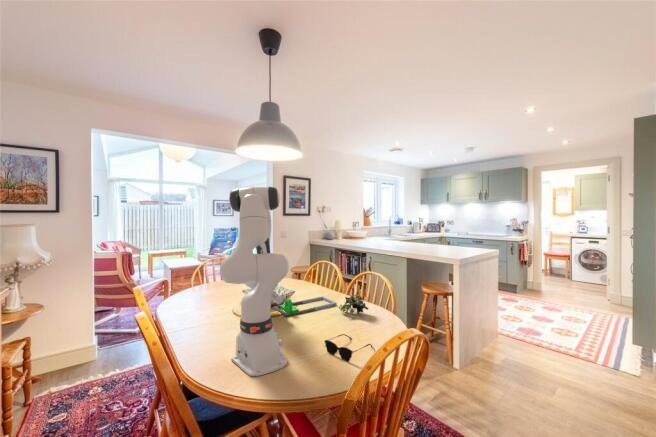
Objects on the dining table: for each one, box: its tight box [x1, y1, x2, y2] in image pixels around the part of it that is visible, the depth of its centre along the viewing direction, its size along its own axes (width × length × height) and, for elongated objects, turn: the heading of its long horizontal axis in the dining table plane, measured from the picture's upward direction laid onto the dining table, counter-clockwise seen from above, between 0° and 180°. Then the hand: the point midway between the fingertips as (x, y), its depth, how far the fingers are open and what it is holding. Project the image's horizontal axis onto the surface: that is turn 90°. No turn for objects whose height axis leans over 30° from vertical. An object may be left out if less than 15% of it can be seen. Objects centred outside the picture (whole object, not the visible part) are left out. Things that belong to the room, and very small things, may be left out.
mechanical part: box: [279, 298, 300, 314], centre depth 155 cm, size 12×6×8 cm, turn 32°
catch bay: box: [301, 295, 337, 311], centre depth 165 cm, size 15×15×2 cm
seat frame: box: [273, 300, 316, 318], centre depth 156 cm, size 16×18×1 cm
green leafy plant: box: [338, 294, 369, 317], centre depth 148 cm, size 13×12×14 cm
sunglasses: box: [324, 334, 373, 362], centre depth 111 cm, size 14×16×5 cm
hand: (280, 302), depth 152 cm, fingers closed
